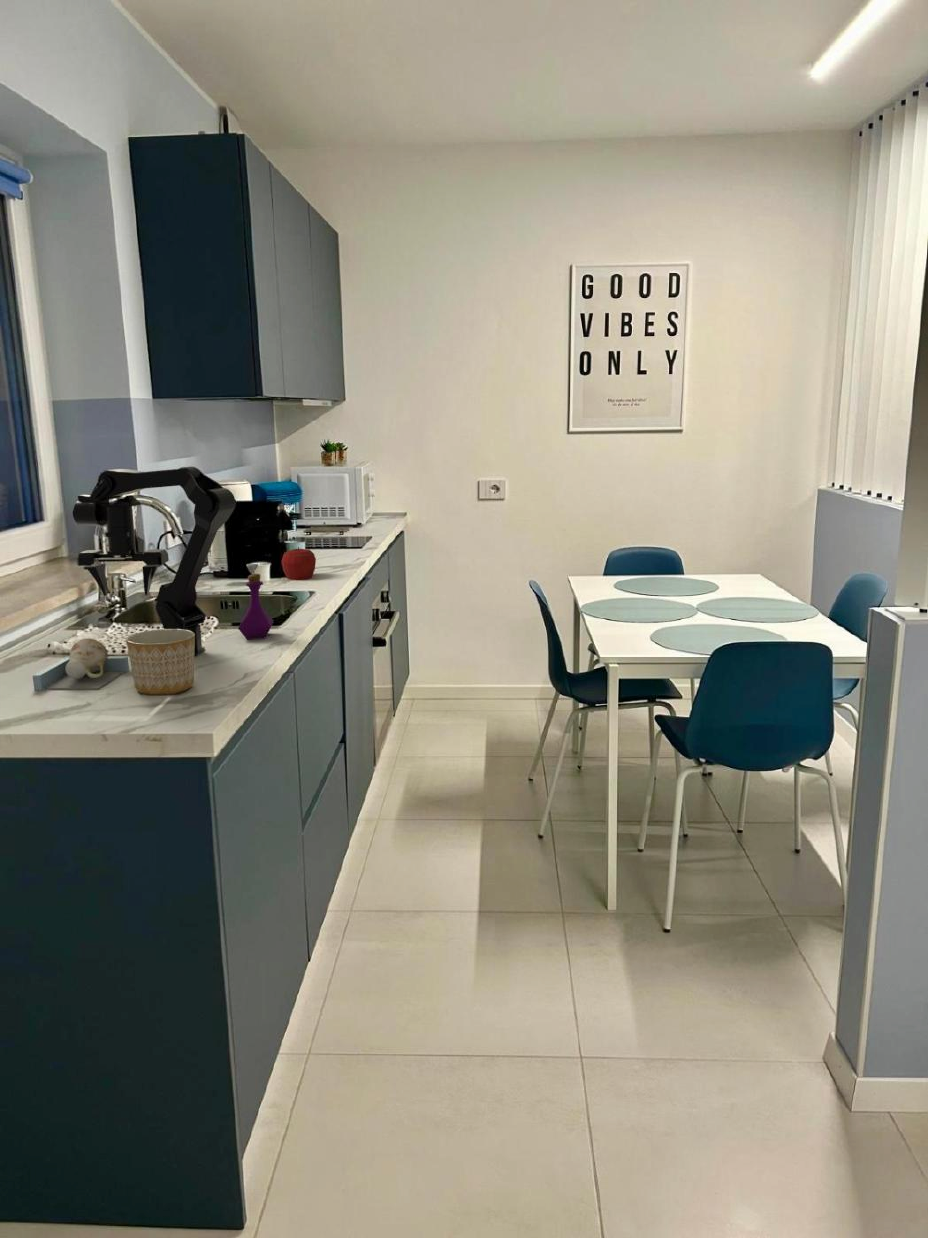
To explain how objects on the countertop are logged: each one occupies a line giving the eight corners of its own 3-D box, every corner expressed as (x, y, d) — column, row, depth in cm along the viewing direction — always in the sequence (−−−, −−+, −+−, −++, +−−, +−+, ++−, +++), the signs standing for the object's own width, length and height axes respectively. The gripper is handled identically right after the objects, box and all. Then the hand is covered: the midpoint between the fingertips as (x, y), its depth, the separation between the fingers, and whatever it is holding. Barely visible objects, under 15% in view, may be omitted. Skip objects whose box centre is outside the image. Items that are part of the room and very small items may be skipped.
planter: (125, 685, 185) (120, 633, 183) (190, 675, 191) (186, 626, 189) (137, 701, 174) (132, 647, 172) (205, 691, 180) (201, 638, 178)
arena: (129, 670, 196) (127, 656, 195) (99, 690, 182) (98, 675, 181) (68, 670, 196) (66, 656, 196) (34, 690, 182) (32, 675, 182)
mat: (123, 672, 194) (123, 671, 194) (98, 689, 182) (98, 688, 182) (74, 672, 195) (73, 671, 194) (45, 689, 183) (45, 688, 183)
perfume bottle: (243, 634, 227) (238, 561, 223) (274, 633, 227) (270, 560, 223) (238, 641, 219) (233, 566, 216) (271, 640, 220) (266, 565, 216)
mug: (55, 683, 184) (52, 636, 187) (85, 694, 193) (81, 649, 196) (89, 672, 183) (85, 626, 186) (118, 684, 192) (113, 639, 195)
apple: (284, 580, 301) (282, 544, 298) (317, 579, 302) (315, 543, 299) (281, 586, 290) (279, 549, 287) (316, 585, 291) (314, 548, 289)
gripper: (173, 521, 216) (178, 588, 219) (92, 522, 216) (98, 589, 219) (158, 527, 205) (163, 597, 208) (72, 528, 205) (79, 598, 208)
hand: (126, 595), depth 211 cm, fingers open, 9 cm apart
